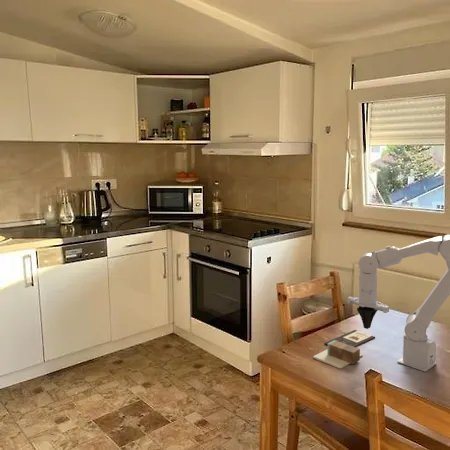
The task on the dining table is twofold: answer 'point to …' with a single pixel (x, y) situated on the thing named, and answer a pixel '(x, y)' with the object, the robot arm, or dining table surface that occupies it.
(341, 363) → the thin cream panel
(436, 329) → the dining table surface
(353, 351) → the walnut block
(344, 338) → the chocolate bar
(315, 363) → the dining table surface
